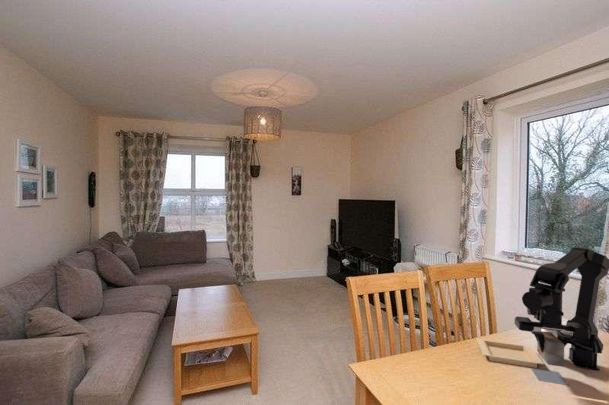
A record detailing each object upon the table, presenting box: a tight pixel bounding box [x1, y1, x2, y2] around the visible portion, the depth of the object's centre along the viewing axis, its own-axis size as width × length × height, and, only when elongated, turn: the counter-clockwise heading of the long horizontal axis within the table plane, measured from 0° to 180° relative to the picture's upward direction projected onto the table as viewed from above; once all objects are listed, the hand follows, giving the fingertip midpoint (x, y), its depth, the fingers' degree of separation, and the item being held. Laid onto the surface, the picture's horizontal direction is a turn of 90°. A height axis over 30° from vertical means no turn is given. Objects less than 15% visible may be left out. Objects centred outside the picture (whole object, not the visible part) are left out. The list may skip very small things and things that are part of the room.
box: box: [536, 331, 565, 368], centre depth 102 cm, size 4×9×7 cm, turn 161°
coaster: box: [529, 367, 571, 387], centre depth 102 cm, size 8×8×1 cm
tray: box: [476, 338, 545, 368], centre depth 115 cm, size 18×13×2 cm
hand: (549, 352), depth 102 cm, fingers closed on box, 4 cm apart
